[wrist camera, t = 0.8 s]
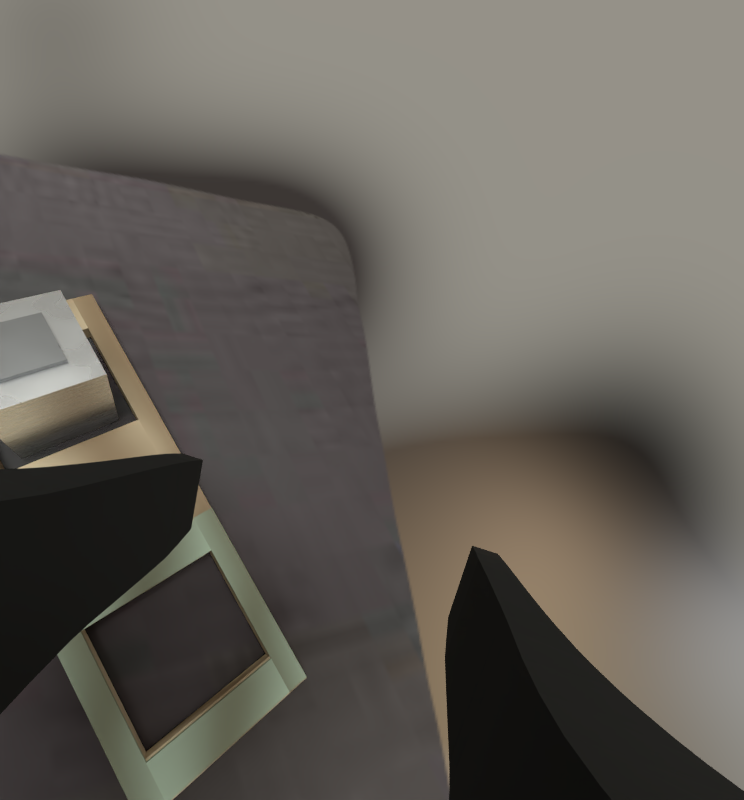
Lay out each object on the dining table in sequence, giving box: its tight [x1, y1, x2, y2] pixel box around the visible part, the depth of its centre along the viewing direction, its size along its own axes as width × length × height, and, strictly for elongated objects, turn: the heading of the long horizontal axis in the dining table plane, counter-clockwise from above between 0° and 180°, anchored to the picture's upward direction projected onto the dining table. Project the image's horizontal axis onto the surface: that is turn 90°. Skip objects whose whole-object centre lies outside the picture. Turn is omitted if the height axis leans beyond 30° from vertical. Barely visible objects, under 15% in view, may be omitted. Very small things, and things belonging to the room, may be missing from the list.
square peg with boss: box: [0, 290, 119, 458], centre depth 20 cm, size 4×4×6 cm
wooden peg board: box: [0, 294, 306, 800], centre depth 21 cm, size 8×24×1 cm, turn 35°
